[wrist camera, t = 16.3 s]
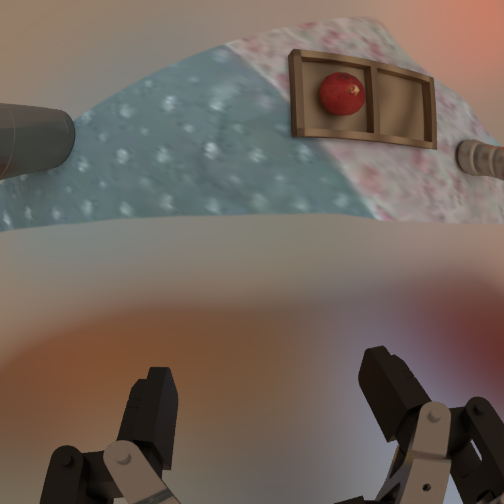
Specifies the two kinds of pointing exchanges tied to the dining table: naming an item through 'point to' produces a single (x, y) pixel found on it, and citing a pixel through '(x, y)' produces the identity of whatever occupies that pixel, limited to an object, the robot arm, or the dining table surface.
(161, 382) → the robot arm
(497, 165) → the plastic bottle
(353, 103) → the pomegranate
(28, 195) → the dining table surface
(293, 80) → the walnut tray
